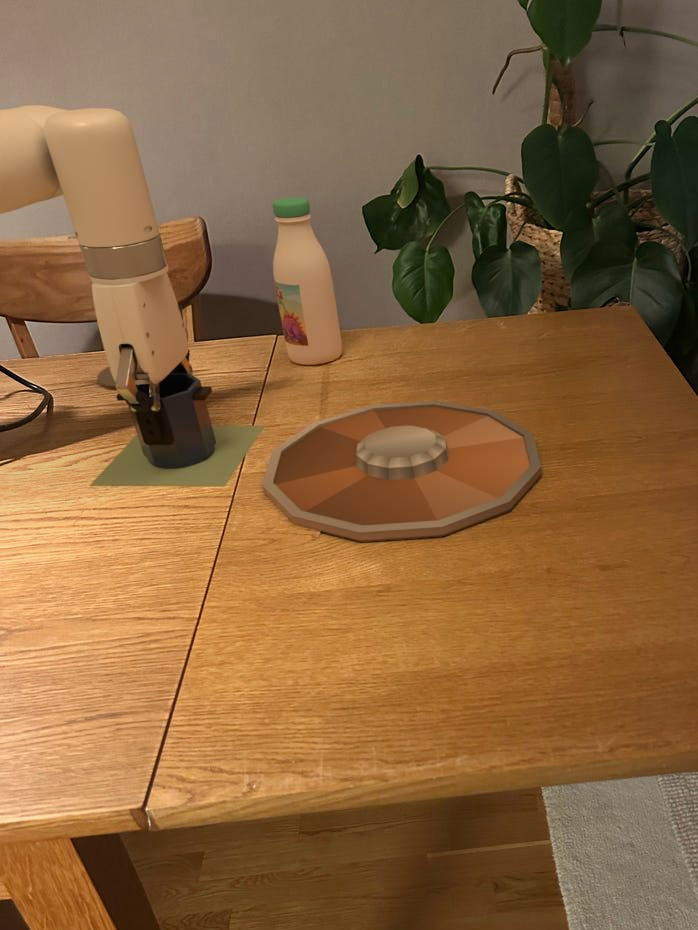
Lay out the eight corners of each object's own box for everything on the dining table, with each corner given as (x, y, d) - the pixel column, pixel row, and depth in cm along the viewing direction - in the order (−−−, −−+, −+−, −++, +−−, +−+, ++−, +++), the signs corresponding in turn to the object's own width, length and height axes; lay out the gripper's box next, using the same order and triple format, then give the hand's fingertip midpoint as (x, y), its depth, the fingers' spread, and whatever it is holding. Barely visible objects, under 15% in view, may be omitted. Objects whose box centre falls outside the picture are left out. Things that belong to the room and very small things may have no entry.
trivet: (84, 392, 111) (82, 386, 111) (119, 362, 120) (117, 356, 119) (164, 392, 110) (162, 386, 110) (193, 361, 119) (191, 356, 118)
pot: (127, 468, 92) (103, 399, 88) (153, 439, 98) (132, 372, 93) (212, 469, 92) (194, 399, 87) (233, 439, 97) (217, 372, 92)
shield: (316, 380, 102) (560, 390, 97) (320, 405, 104) (559, 416, 99) (206, 503, 80) (517, 525, 74) (215, 532, 82) (517, 555, 76)
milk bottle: (337, 343, 122) (315, 191, 110) (348, 361, 116) (325, 202, 104) (284, 351, 120) (255, 197, 108) (292, 369, 115) (263, 209, 102)
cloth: (90, 487, 90) (89, 485, 90) (145, 428, 102) (144, 425, 101) (225, 488, 89) (224, 486, 88) (265, 427, 100) (264, 425, 100)
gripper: (125, 237, 89) (171, 396, 100) (45, 285, 75) (108, 463, 87) (193, 235, 88) (231, 396, 99) (125, 284, 75) (178, 463, 86)
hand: (174, 426), depth 93 cm, fingers closed on pot, 7 cm apart
